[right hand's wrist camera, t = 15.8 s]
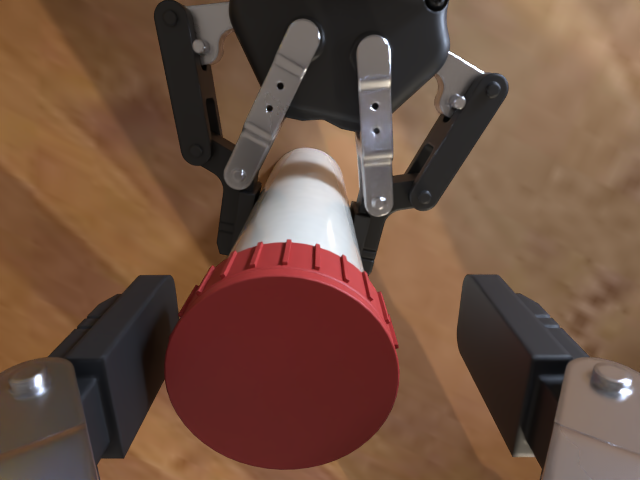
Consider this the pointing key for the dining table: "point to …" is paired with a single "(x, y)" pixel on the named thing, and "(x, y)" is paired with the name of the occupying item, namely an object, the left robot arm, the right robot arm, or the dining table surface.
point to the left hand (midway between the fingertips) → (292, 271)
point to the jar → (303, 207)
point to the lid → (283, 357)
